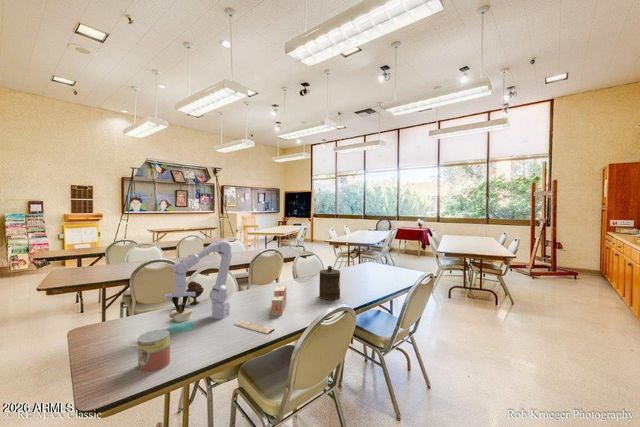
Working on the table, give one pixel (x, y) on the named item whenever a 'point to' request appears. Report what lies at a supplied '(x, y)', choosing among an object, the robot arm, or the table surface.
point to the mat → (180, 327)
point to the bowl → (185, 318)
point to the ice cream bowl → (197, 289)
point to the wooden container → (329, 284)
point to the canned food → (153, 351)
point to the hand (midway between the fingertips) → (180, 310)
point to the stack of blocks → (278, 300)
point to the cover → (180, 312)
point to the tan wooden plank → (253, 327)
